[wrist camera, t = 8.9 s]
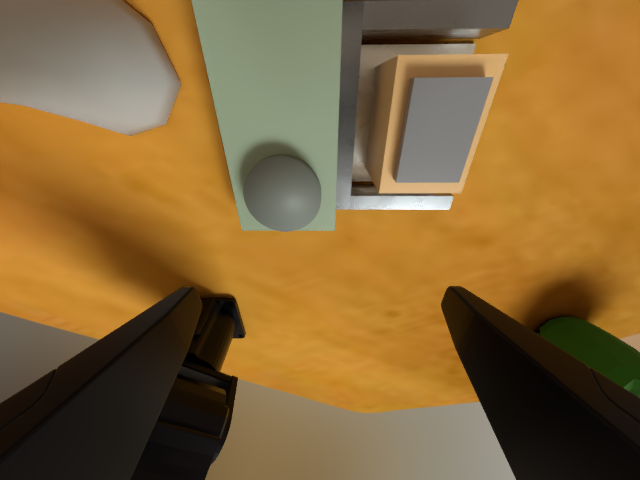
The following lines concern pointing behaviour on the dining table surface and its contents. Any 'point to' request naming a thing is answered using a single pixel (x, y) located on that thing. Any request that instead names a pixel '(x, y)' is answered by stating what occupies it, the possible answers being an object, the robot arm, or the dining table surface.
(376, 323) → the dining table surface
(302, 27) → the sage green knobbed slab
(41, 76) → the flask
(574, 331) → the bell pepper
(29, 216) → the dining table surface
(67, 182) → the dining table surface
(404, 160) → the tan and grey block
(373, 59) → the bracket
